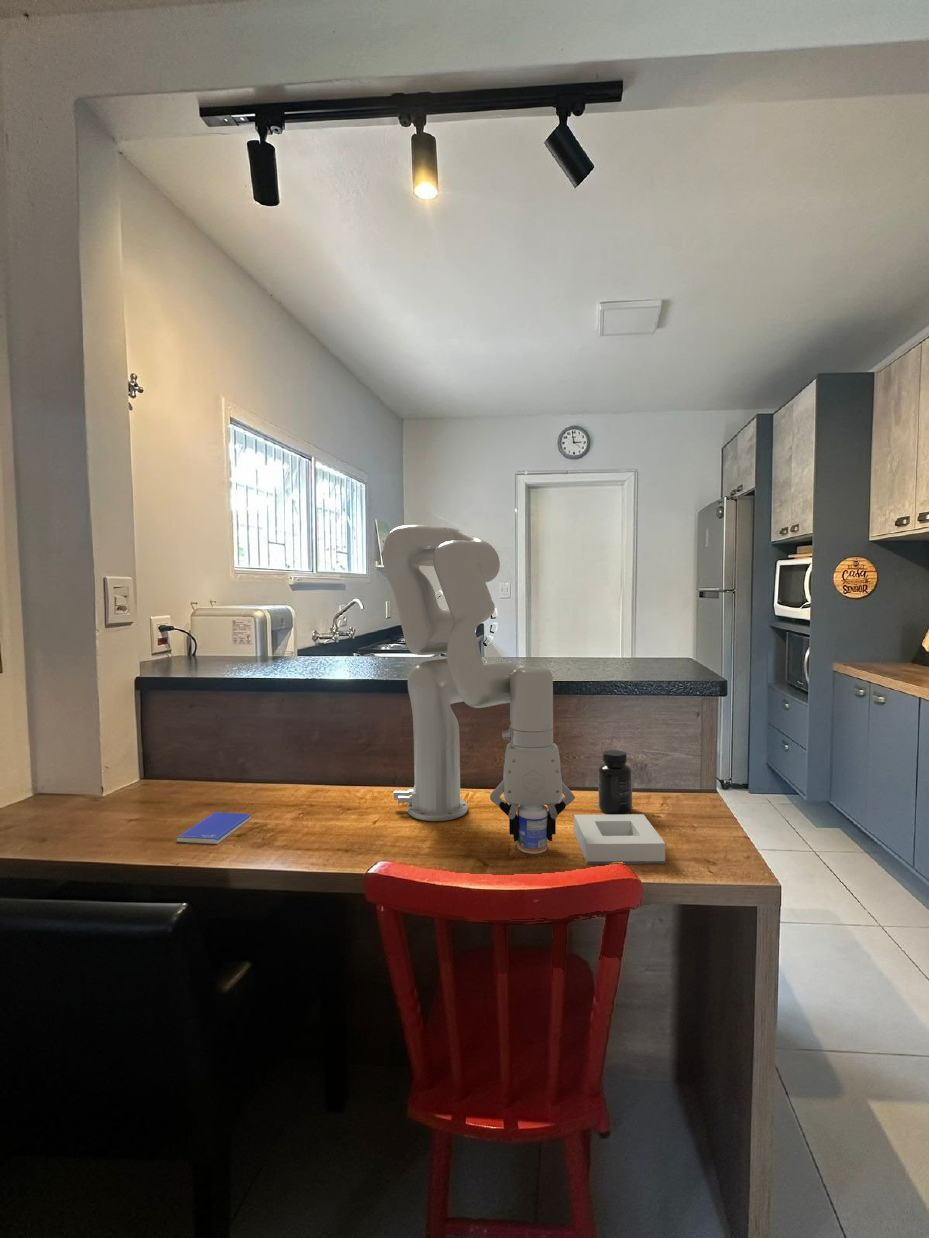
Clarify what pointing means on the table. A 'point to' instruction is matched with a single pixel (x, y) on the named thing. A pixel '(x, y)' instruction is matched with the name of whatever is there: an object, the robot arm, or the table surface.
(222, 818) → the hard drive
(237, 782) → the table surface
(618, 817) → the housing
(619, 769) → the supplement bottle
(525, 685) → the robot arm
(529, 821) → the pill bottle
